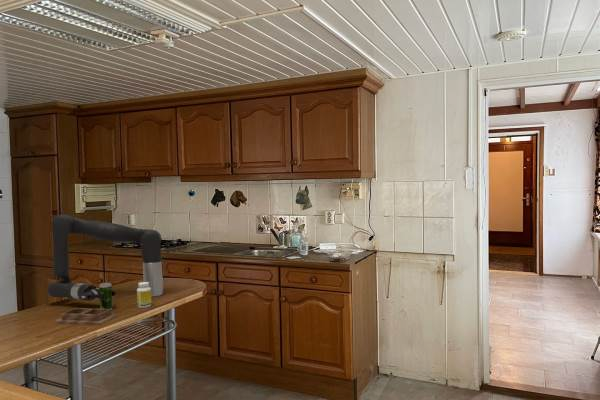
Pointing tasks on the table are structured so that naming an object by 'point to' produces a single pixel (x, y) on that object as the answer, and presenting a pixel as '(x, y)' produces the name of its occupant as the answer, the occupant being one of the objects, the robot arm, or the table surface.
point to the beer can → (106, 296)
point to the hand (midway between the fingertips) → (109, 295)
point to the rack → (86, 316)
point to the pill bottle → (143, 295)
